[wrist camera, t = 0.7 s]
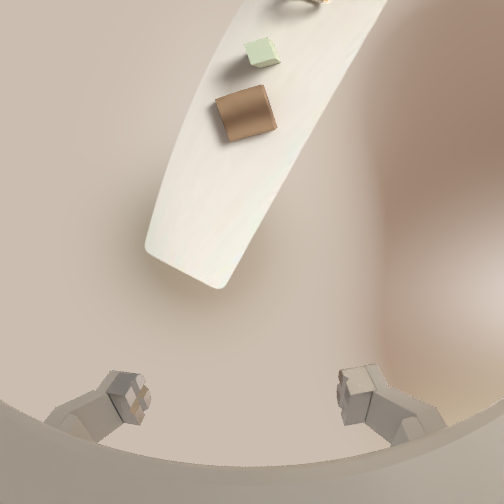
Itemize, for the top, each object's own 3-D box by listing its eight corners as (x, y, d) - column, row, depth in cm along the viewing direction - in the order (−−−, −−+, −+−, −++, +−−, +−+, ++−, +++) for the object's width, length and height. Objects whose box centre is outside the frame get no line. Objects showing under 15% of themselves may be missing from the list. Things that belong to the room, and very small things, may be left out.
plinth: (220, 98, 47) (214, 99, 44) (263, 84, 44) (260, 84, 41) (234, 138, 51) (230, 142, 49) (277, 127, 48) (275, 129, 46)
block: (253, 50, 40) (243, 44, 33) (274, 44, 38) (267, 37, 32) (260, 68, 42) (251, 65, 35) (280, 62, 40) (275, 58, 34)
